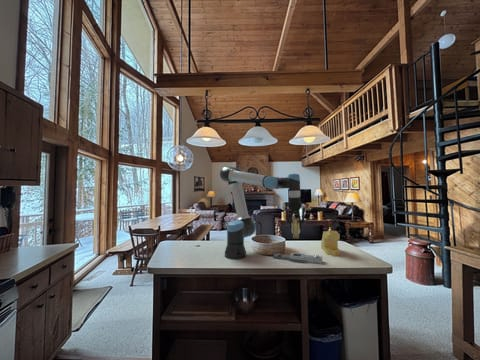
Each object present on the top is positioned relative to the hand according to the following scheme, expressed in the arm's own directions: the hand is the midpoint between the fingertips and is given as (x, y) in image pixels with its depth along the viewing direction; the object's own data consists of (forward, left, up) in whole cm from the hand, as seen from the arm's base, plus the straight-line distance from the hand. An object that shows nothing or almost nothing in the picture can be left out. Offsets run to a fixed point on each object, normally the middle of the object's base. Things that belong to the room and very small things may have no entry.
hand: (295, 232), depth 142 cm
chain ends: (+1, +1, -17) cm, 17 cm away
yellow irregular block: (+21, +28, -18) cm, 40 cm away
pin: (0, 0, -3) cm, 3 cm away
